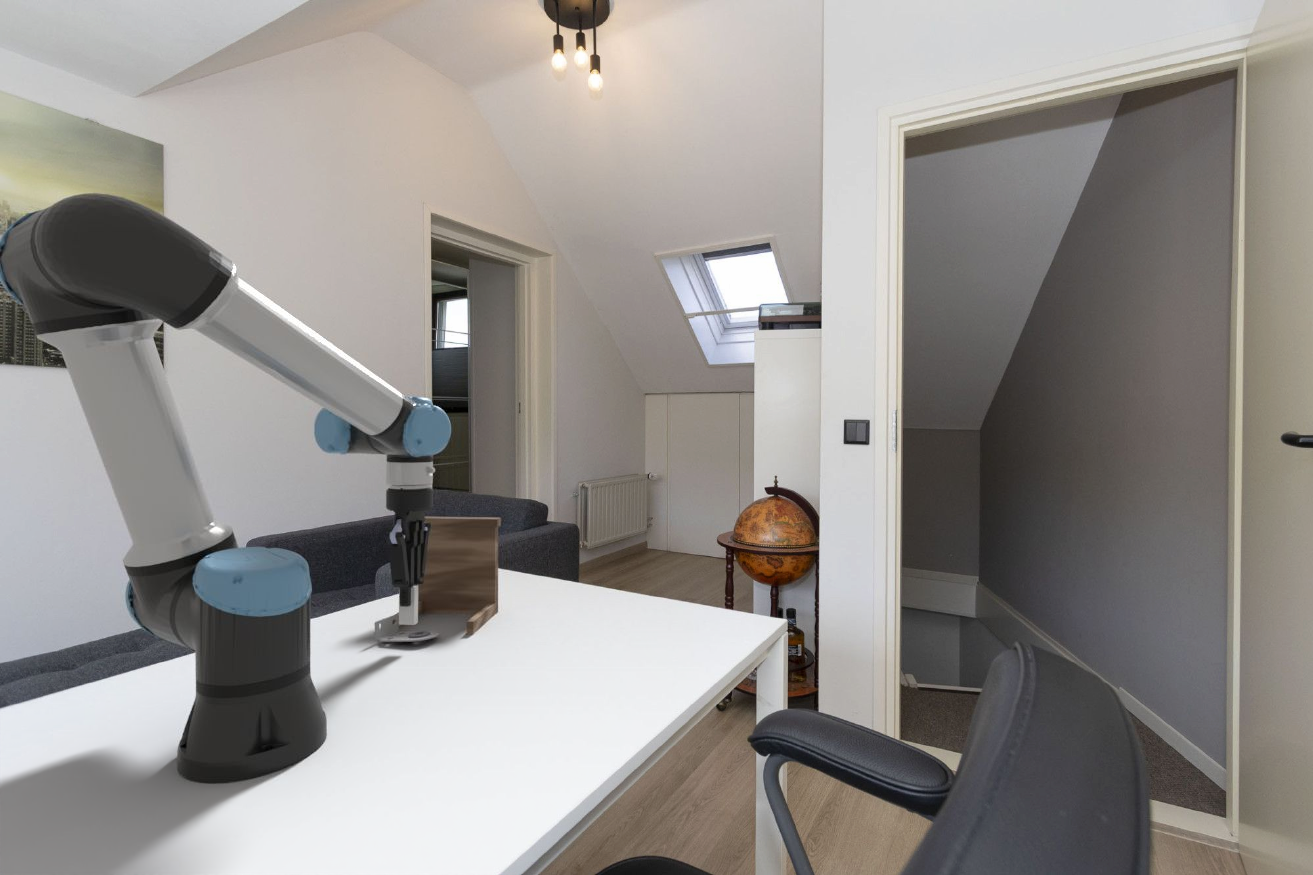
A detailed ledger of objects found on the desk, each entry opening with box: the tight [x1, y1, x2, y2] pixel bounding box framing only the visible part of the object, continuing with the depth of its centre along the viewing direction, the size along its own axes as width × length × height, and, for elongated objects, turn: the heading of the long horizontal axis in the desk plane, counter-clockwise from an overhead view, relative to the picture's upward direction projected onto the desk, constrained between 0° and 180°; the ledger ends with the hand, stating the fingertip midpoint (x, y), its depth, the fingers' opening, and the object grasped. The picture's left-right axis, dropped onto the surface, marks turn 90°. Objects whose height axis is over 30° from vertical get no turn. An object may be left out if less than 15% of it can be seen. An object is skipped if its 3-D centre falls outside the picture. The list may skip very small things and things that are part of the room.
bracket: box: [374, 614, 440, 643], centre depth 116 cm, size 7×10×3 cm, turn 78°
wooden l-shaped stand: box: [392, 515, 502, 636], centre depth 127 cm, size 15×17×20 cm
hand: (408, 623), depth 112 cm, fingers closed
